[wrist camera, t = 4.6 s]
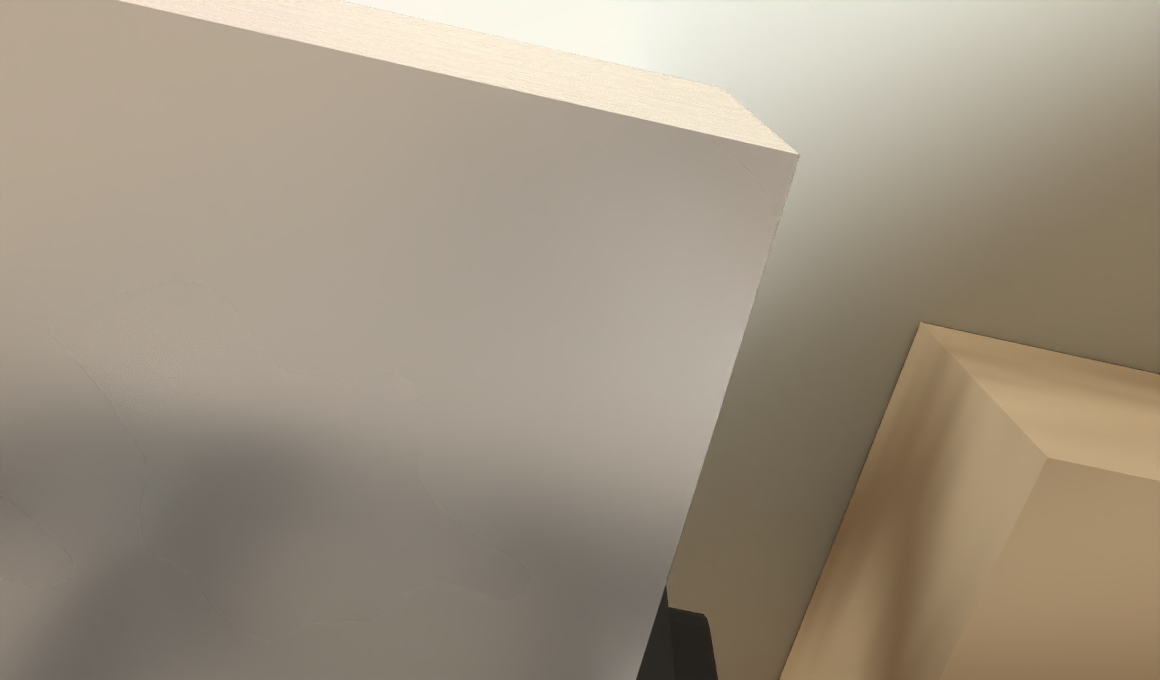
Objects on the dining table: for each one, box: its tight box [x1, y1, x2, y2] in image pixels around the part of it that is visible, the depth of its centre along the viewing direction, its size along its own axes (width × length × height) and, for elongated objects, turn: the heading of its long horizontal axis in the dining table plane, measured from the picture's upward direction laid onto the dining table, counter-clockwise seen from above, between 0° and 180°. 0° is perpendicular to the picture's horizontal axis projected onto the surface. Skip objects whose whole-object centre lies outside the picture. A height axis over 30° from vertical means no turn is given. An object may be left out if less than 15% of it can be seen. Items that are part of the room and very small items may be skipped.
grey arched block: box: [0, 0, 800, 680], centre depth 10 cm, size 12×4×8 cm, turn 168°
